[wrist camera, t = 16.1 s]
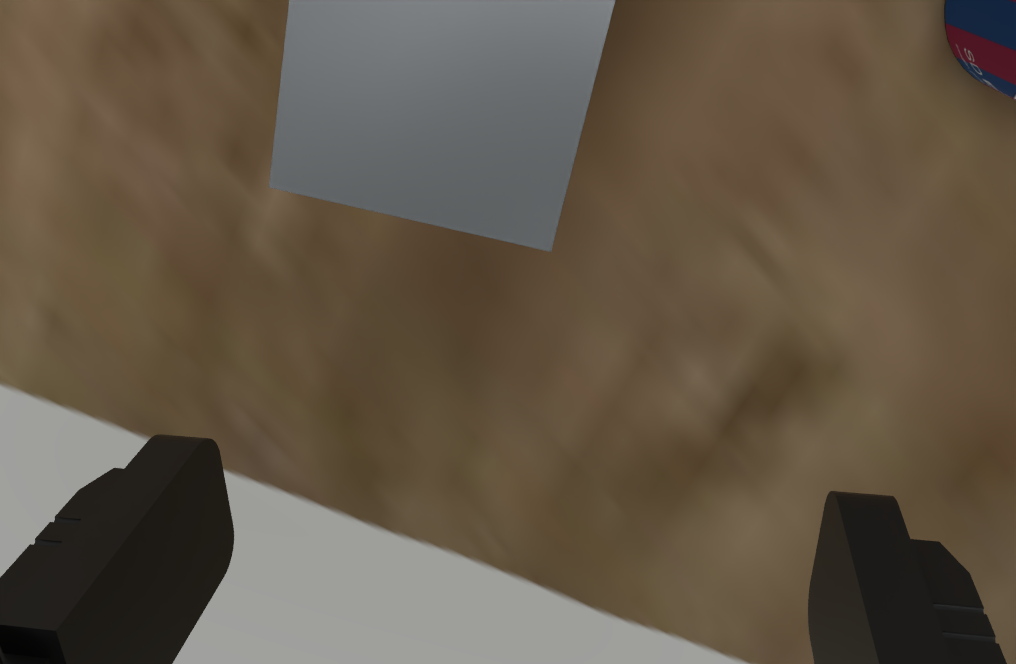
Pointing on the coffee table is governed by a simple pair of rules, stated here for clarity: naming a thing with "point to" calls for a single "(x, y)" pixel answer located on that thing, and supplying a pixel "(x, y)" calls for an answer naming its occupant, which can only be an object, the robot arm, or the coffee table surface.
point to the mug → (985, 40)
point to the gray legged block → (439, 108)
